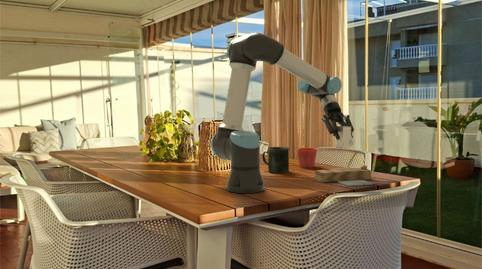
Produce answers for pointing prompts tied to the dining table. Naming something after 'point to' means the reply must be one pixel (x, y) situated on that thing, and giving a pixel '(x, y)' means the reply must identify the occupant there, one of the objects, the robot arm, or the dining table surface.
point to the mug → (277, 159)
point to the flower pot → (306, 157)
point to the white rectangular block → (344, 137)
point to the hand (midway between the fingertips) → (347, 144)
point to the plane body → (343, 174)
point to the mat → (355, 183)
